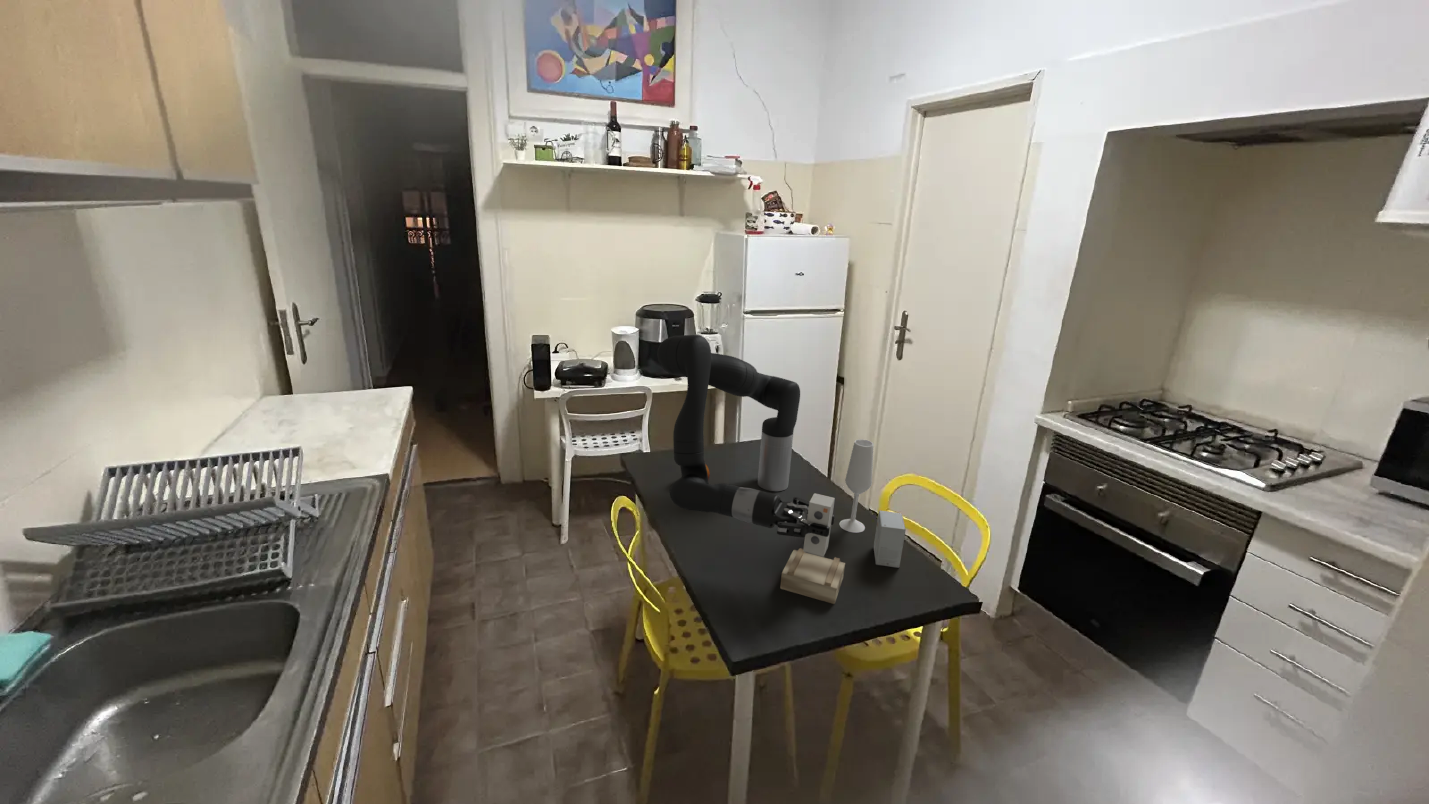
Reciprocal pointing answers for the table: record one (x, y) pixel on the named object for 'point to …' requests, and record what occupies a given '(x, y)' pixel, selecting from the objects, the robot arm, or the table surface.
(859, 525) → the champagne flute
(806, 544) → the tall grey box
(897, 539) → the small box
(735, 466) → the table surface
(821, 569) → the brown wooden ridged block
